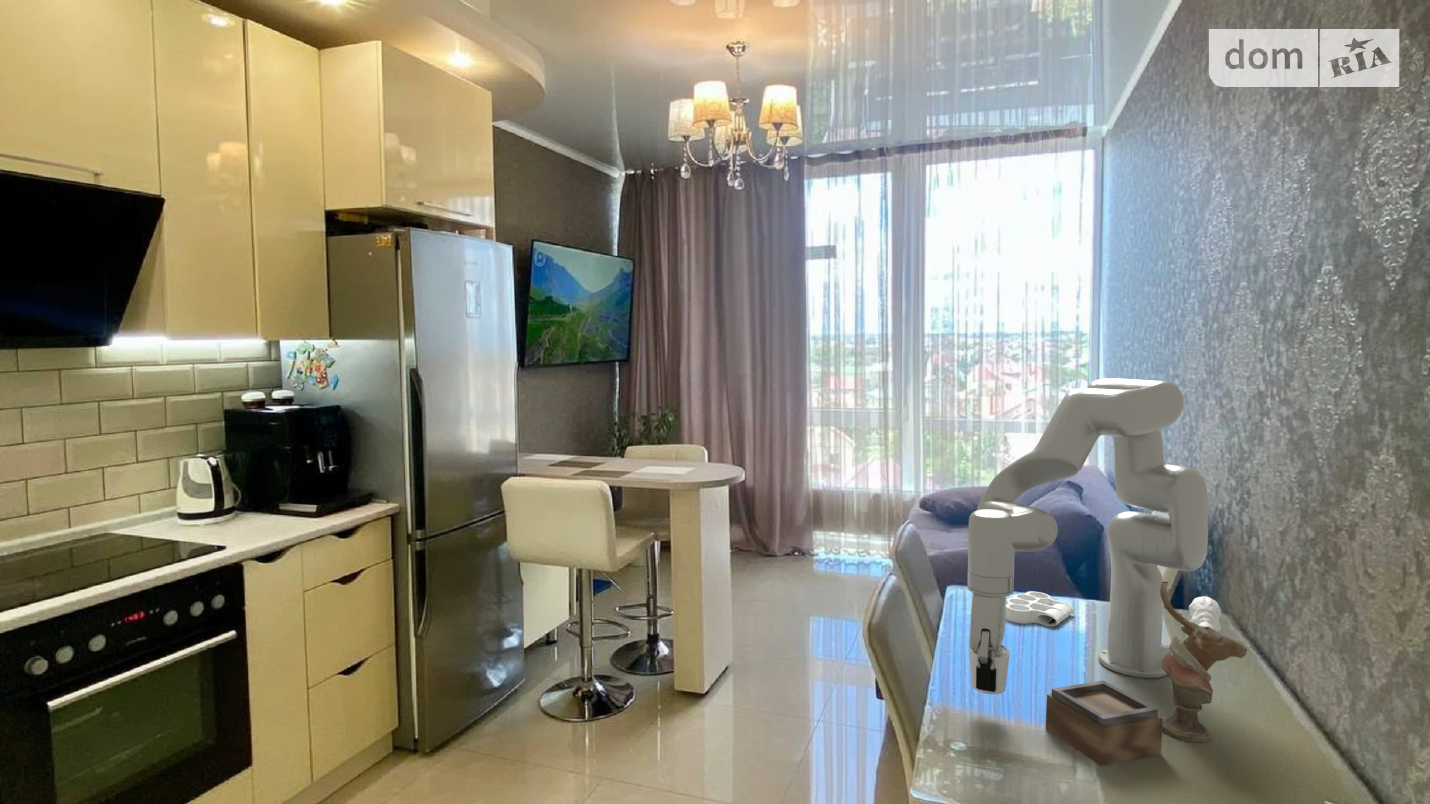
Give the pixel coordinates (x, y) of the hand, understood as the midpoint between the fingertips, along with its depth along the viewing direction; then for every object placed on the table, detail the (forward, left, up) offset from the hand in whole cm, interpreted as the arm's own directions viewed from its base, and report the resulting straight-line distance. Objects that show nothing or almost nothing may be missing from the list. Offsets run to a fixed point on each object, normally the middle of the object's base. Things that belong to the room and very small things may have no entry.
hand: (988, 680), depth 134 cm
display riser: (-12, +13, -6) cm, 19 cm away
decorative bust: (-29, +16, -6) cm, 34 cm away
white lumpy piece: (-70, -16, -6) cm, 72 cm away
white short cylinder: (0, 0, -1) cm, 1 cm away
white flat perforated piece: (-44, -40, -7) cm, 60 cm away
